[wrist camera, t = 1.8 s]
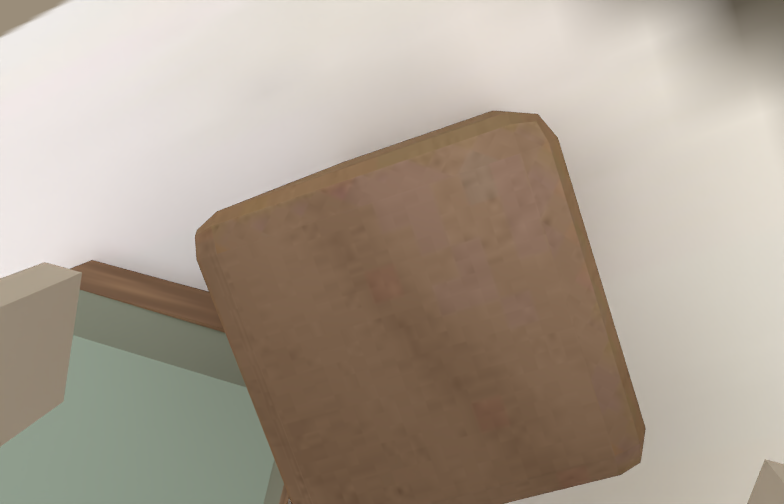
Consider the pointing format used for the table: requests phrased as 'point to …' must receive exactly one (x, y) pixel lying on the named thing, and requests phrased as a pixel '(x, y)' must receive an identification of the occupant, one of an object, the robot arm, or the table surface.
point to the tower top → (143, 420)
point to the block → (427, 323)
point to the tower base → (153, 298)
